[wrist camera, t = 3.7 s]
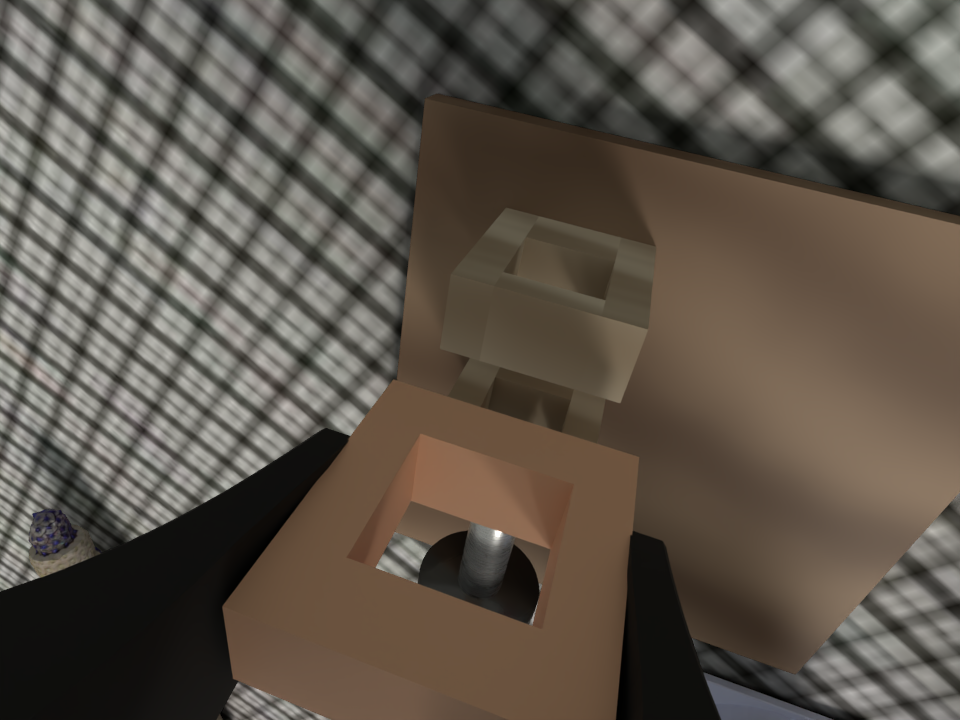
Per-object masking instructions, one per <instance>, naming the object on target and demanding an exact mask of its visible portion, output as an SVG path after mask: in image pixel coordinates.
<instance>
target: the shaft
mask: <svg viewBox="0 0 960 720" xmlns="http://www.w3.org/2000/svg"><path fill="white" fill-rule="evenodd" d="M515 538H516V537H514V536H511V535H508V534H505V533H502V532H499V531H496V530H494V529H491V528H488V527H485V526H482V525H479V524H476V523H473V522H471V521H470V525H469V529H468V530H467V531H460V532H456V533H453V534H450V535H448V536H446V537H444V538H442V539H440V540H439V541H438V542H436V543H435V544H434V545H433V546H432V547H431V548H430V549H429V551H428V552H427V553H426V555H425V557H424V559H423V561H422V564H421V567H420V572H419V578H418V584H420V585H423V586H425V587H428V588H431V589H433V590H436V591H439V592H442V593H444V594H447V595H450V596H452V597H455V598H458V599H461V600H463V601H466V602H469V603H471V604H474V605H477V606H480V607H482V608H485V609H488V610H490V611H493V612H496V613H499V614H501V615H504V616H507V617H509V618H512V619H515V620H518V621H520V622H523V623H526V624H528V625H529V624H530V621H531V619H532V616H533V613H534V610H535V608H536V605H537V602H538V596H539V583H538V578H537V574H536V572H535V569H534V567H533V565H532V563H531V562H530V560H529V559H528V557H527V556H526V555H525V554H524V553H523V552H522V550H521V549H519V548H518V547H517V546H516V545H515V544H514V541H515Z"/></svg>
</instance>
